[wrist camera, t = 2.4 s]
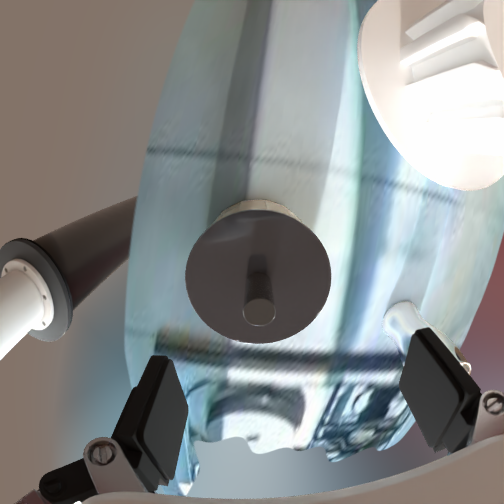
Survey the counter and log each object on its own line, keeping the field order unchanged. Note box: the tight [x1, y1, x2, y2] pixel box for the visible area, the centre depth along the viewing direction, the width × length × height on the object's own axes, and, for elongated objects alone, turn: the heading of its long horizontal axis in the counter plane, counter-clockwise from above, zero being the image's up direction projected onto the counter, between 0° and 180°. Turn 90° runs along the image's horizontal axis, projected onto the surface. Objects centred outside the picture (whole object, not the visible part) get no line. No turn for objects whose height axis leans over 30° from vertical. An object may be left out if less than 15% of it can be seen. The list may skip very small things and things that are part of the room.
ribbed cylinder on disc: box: [357, 0, 504, 191], centre depth 18 cm, size 25×25×19 cm
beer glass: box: [382, 301, 471, 375], centre depth 30 cm, size 7×7×15 cm
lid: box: [185, 209, 331, 344], centre depth 24 cm, size 13×13×6 cm
